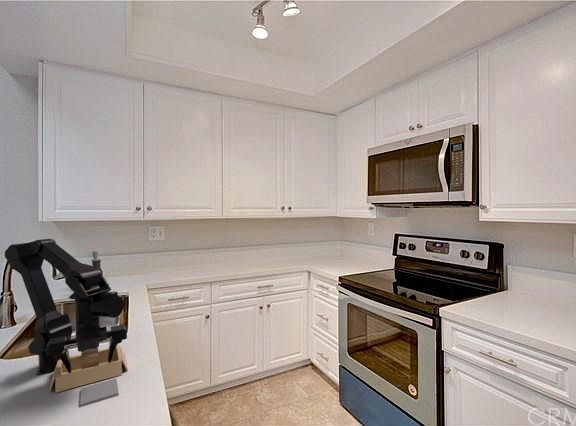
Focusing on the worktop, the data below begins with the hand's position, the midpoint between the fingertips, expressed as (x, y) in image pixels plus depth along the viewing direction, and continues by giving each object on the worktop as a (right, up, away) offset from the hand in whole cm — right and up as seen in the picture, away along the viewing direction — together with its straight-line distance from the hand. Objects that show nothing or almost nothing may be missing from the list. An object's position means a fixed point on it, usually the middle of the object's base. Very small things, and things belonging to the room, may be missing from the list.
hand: (90, 369), depth 88 cm
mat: (+8, -2, -9) cm, 12 cm away
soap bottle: (-56, -1, +95) cm, 111 cm away
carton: (0, -2, +1) cm, 2 cm away
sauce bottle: (-49, -2, +83) cm, 97 cm away
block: (0, -1, +1) cm, 2 cm away
